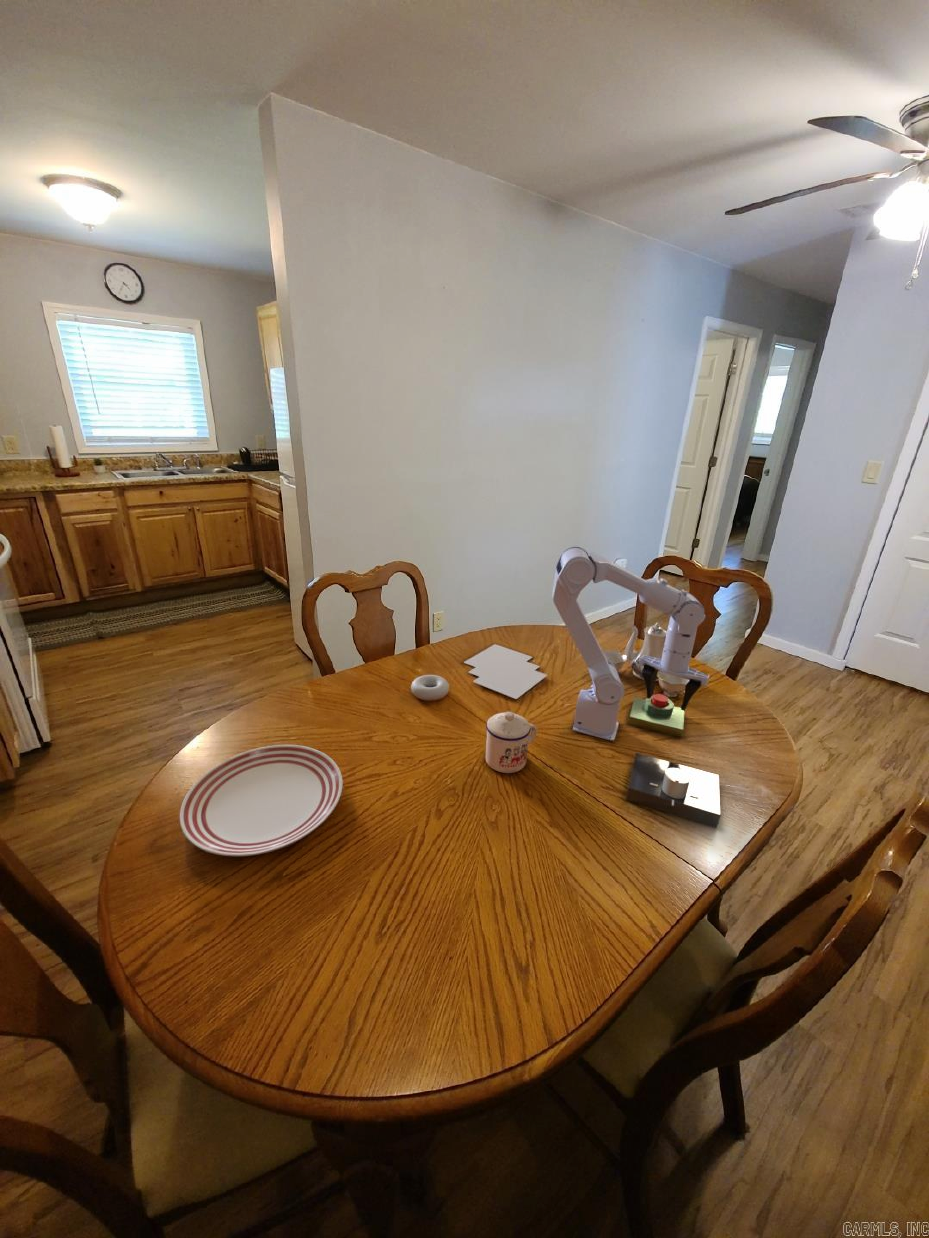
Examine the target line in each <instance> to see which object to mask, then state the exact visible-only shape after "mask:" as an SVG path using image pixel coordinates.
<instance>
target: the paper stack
mask: <svg viewBox="0 0 929 1238" xmlns="http://www.w3.org/2000/svg"><path fill="white" fill-rule="evenodd" d="M532 659H533V656H531V655H528V654H525V653H523V652H519V651H517V650H514V649H510V648H508V647H505V646H502V645H499V644H496V643H495V644H492V645H491V646H489V647H487V648H486V649H484V650H482V651H480V652H479V653H477V654H475V655H473V656H472V657H470V658H468V659H467V660H465V661H463V663H464V664H466V665H468V666H471V667H474V668H472V669H470V670H469V671H468V672H467V673H468V674H471V675H474V676H476V677H477V678H475V679H474V680H473V681H472V683H475V684H478V685H479V686H482V687H485V688H488V689H490V690H492V691H494V692H496V693H497V692H498V693H499V694H502V695H504V696H507V697H510V698H512V699H515V700H517V699H519V698H520V697H521V696H523V695H524V694H525V693H526V692H528V691H529V690H531V689H532V688H533V687H534V686H535V685H537V684H538V683H540V682H541V681H542V680H544V679H545V678H546V677H548V674H547V673H543V672H541V671H538V670H537V669H538V668H540V667H541V666H540V665H537V664H534V663H532V662H529V661H530V660H532Z"/></svg>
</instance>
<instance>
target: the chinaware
mask: <svg viewBox="0 0 929 1238" xmlns="http://www.w3.org/2000/svg"><path fill="white" fill-rule="evenodd" d="M630 628H632V629H631V630H632V635H631V636H630V638H629V640H628V642H627V643H626V645H625V649H624V654H623V653H622V652H621V651H620V650H618V649H612V650H608V649H602V651H603V653H604V654H605V656H606V658H607V659H608V661H609V662H611V663H612V664H614V665H615V667H616V668H617V672H619V671H620V670H622V668H624V665H625V663H626V662H628V663H629V664H630V667H631V669H632V674H633V676H634V677H636V678H638V679H639V680H642V681H644V678H643V676H642V670H643V668H644V667H643V666H639V663H640V658H641V657H642V656H643V655H644V656H648V657H653V658H660V659H662V654H663V649H664V644H665V639H666V634H667V630H665V629H664V628H663V627H662V626H661V625H660V623H659V622H656V623H655V624H654V625H651V626H649V627H645V628H644V629H643V631H644V639H643V642H642V644H641V647H640V648H639V650H636V649H635V647H636V646H635V645H636V643H637V640H638V636H639V630H638V628H637V627H636V625H633V624H631V625H630ZM689 681H690V680H688V679H685V678H681V677H678V676H673V675H669V674H667V673H664V672H662V671H659V670H658V673H657V677H656V680H655V683H656V682H658V684H659V687H660V688H661V689H662V691H663V694H662V695H665V696H666V697H668V698H677V696H678V694H679V695H680V696H683V695H684V694H685V686H686V684H687V683H688V682H689ZM683 693H684V694H683Z"/></svg>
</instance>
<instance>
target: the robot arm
mask: <svg viewBox="0 0 929 1238" xmlns="http://www.w3.org/2000/svg"><path fill="white" fill-rule="evenodd" d="M591 581H592V583H593V584H598V583H601V582H604V581H608V582H611V583H613V584H614V585H617V586H620V587H622V588H624V589H625V590H627V591H628V590H629V591H630V592H632V593H634V594H637V595H638V599H639V602H640V603H642V604H643V605H645V606H647V607H650V608H652V609H654V610H656V611H658V612H660V613H662V614H664V615H665V616H669V620H668V621H669V622H668V626H667V630H666V631H667V634H666V639H665V644H664V649H663V654H662V659H660V658H653V657H648V656H644V655H643V656H642V657H641V658H640V663H639V666H643V667H644V668H643V670H642V676H643V678H644V680H643V681H644V684H645V689H646V697H647V698H649V699H650V698H651V697H652V695H654V692H655V685H656V682H655V680H656V677H657V673H658V670H659V671H662V672H664V673H667V674H669V675H673V676H678V677H681V678H685V679H688V680H690V681H689V682H688V683H687V684H686V686H685V689H684V692H685V693H684V694H683V695H684V696H683V700H682V703H681V706H680V708H681V710H683V711H684V710H685V711H686V709H687V707H688V705H689V702H690V701H691V699H692V697H693V696H694V694H695V693H697V691H698V690H699V689H700V688H701V686H702V687H707V686H708V685H709V681H710V678H711V675H710V674H707V673H704V672H701V671H700V670H697V669H695V668H693V667H691V666H690V663H691V659H692V654H693V650H694V645H695V640H696V636H697V631H698V627H699V626H700V625H701V624H702V623H703V622H704V621H705V619H706V617H707V615H706V614H705V608H704V606H703V604H702V603H701V602H700V601H699V600H698V599H697V598H696V597H695V596H694V595H693V594H691V593H690V592H689V591H687V590H684V589H683V588H682V589H681V590H679V589H677V588H675V587H674V586H672V585H670V584H669V582H668V581H667V579H665V578H662V577H660V579H658V578H656V577H652V578H648V579H644V578H642V577H640V576H639V575H637V574H635V573H633V572H632V571H630V570H628V569H626V568H624V567H622V566H621V565H619V564H617V563H615V562H614V561H612V560H610V559H609V558H606V557H604V556H602V555H600V554H598V553H597V552H594V551H591V550H588V551H586V549H584V548H583V547H581V546H579V545H577V546H576V545H574V546H573V545H572V546H569V547H567V548H565V549H564V550H563V551H562V552H561V554H560V556H559V557H558V560H557V562H556V563H555V573H554V578H553V586H552V592H551V598H552V601H553V604H554V606H555V608H556V610H557V613H558V614H559V616H560V617H561V620H562V621H563V623H564V626H565V627H566V629H567V631H568V633H569V635H570V637H571V639H572V641H573V643H574V644H575V646H576V649H577V650H578V652H579V654H580V656H581V658H582V660H583V662H584V664H585V666H586V667H587V670H588V673H589V675H590V679H591V682H592V684H591V686H590V687H589V688H588V689H580V691H579V694H578V696H577V701H576V707H575V713H574V723H573V727H572V731H573V732H576V733H577V732H578V733H582V734H585V735H588V736H592V737H595V738H600V739H603V740H607V741H610V742H614V741H615V739H616V735H617V732H618V729H619V724H620V722H619V721H618V716H619V710H620V704H621V700H622V699H623V697H624V696H625V693H626V691H625V686H624V685H623V683H622V680H621V678H620V675H619V673H618V672H619V671H617V668H616V667H615V665H614V664H612V663H611V662H609V661H608V659H607V658H606V656H605V654H604V653H603V651H602V650H603V649H602V647H601V645H600V643H599V641H598V639H597V637H596V635H595V633H594V632H593V629H592V628H591V625H590V624H589V621H588V620H587V618H586V615H585V613H584V611H583V609H582V607H581V605H580V603H579V601H578V600H577V599H578V598H579V596H580V594H581V592H582V591H583V590H584V589H585V588H586V586H588V585H589V584H590V583H591Z"/></svg>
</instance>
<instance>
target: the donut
mask: <svg viewBox="0 0 929 1238" xmlns="http://www.w3.org/2000/svg"><path fill="white" fill-rule="evenodd" d="M410 691H411V693H412V695H413V696H414V697H415V698H417V699H419V700H422V701H428V702H432V701H438V700H441V699H443V698H445V697H446V696H447V695H448V693H449V692H450V684H449V682H448V680H446V678H444V677H442V676H440V675H436V674H424V675H420V676H418V677H415V679H414V680H413V681H412V682H411V685H410Z"/></svg>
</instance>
